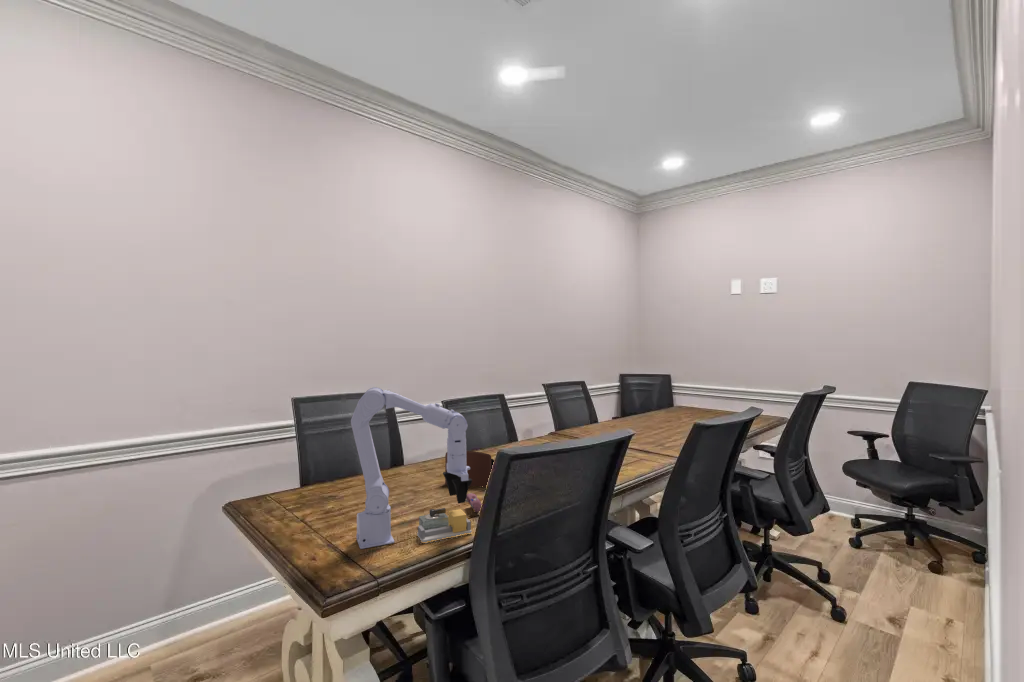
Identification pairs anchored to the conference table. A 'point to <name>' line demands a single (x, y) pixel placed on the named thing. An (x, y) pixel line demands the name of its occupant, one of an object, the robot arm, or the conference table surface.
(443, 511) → the dark lever handle
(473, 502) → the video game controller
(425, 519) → the lever base
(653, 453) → the conference table surface
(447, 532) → the rail
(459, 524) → the carriage
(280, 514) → the conference table surface
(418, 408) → the robot arm
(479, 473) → the letter holder
